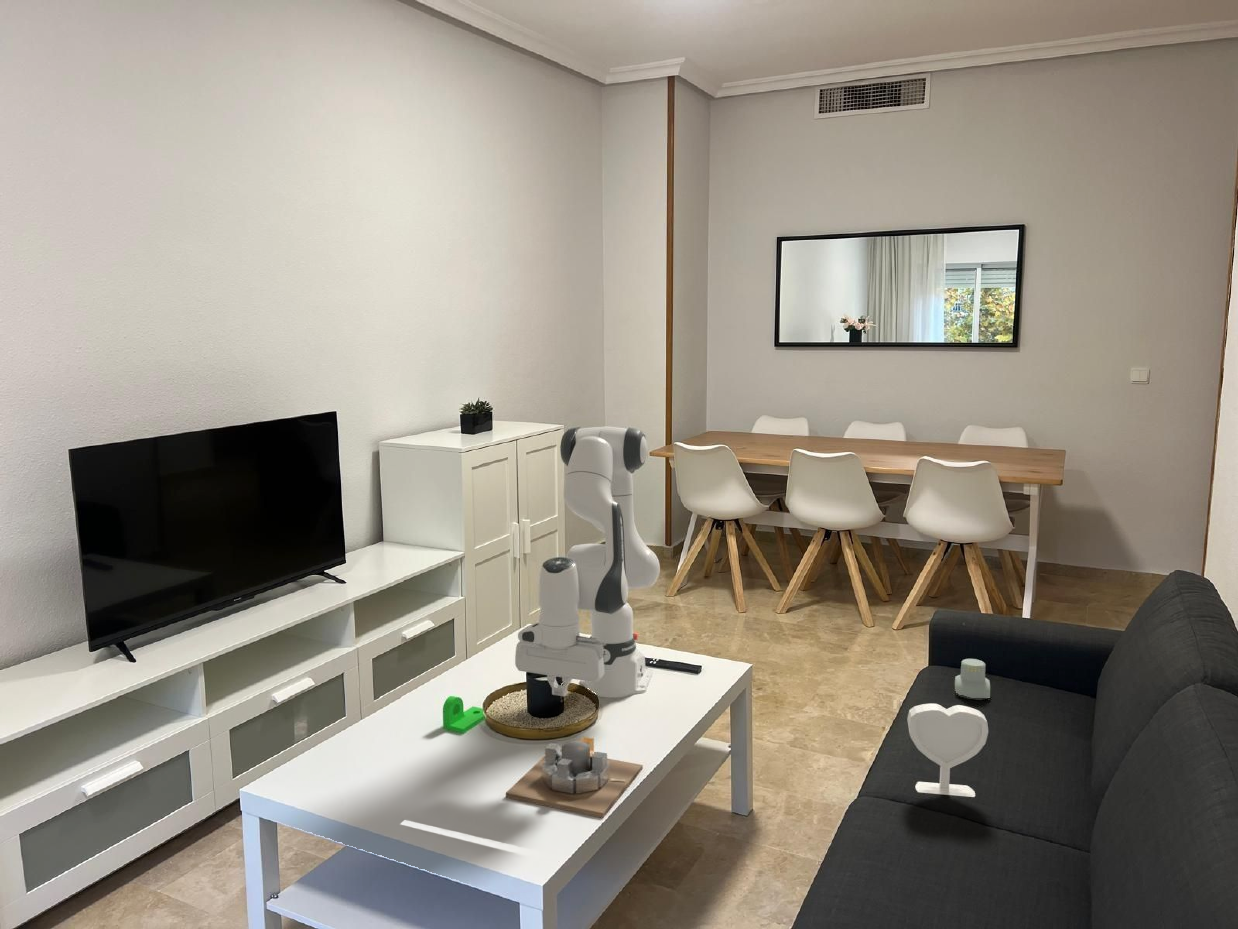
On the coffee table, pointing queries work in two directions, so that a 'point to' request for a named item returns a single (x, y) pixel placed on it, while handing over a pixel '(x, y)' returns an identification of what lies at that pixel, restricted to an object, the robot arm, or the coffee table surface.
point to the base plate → (586, 802)
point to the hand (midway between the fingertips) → (559, 694)
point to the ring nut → (561, 770)
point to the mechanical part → (460, 716)
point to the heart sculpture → (947, 741)
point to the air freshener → (972, 680)
